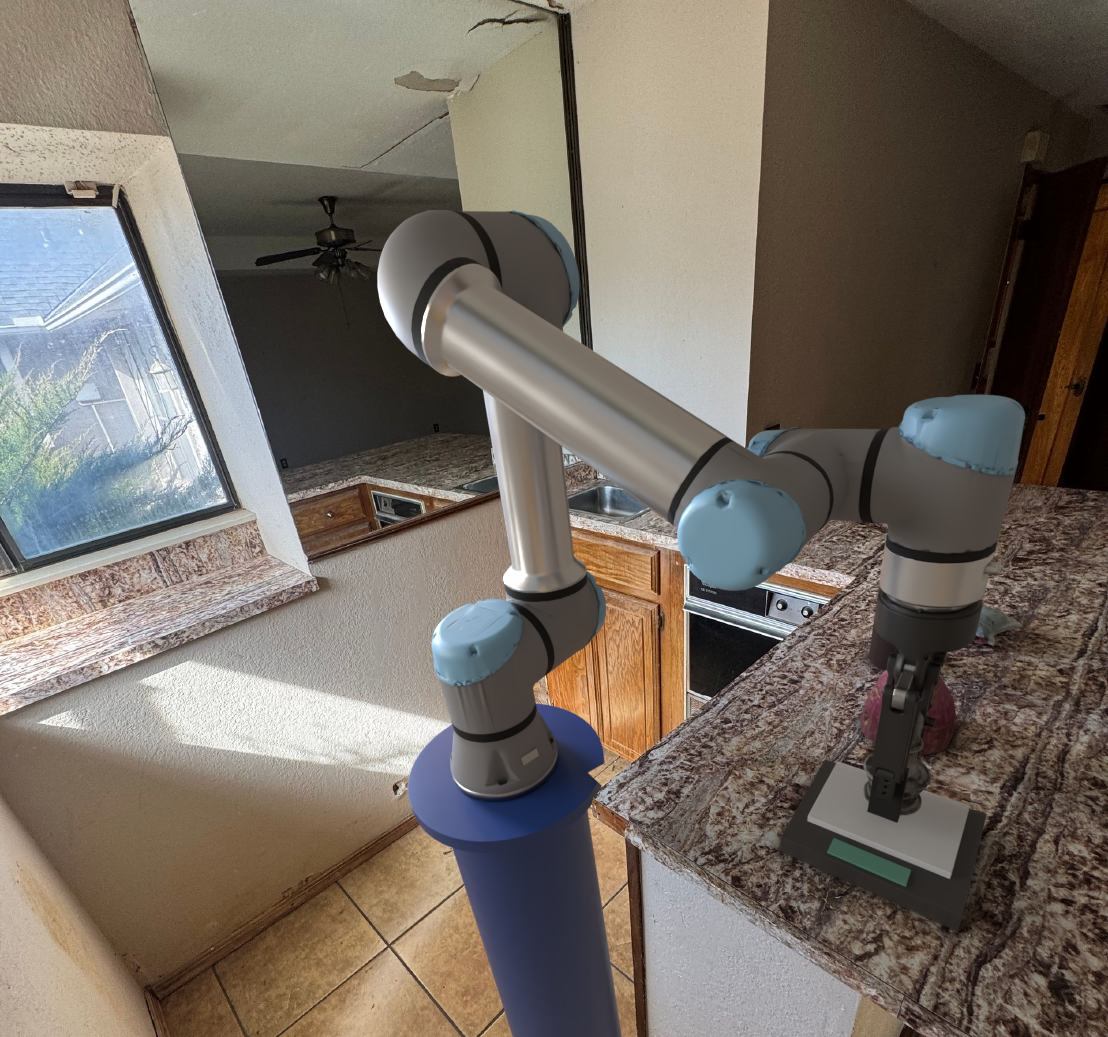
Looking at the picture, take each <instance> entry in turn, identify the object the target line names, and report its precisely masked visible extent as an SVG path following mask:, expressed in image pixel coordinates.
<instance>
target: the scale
mask: <svg viewBox="0 0 1108 1037" xmlns="http://www.w3.org/2000/svg"><path fill="white" fill-rule="evenodd" d="M867 781H869V780H868V778H867V774H866V772H865V770H864V769H861V768H859V767H856V766H853V765H851V764H847V763H844V762H841V761H836V762H834V761H832V760H829V759H824V760H823V762H822V764H821V765H820V768H819V769H818V771H817V773H816V774H815V776H814V778H813V780H812V782H811V783H810V784H809V786H808V788H807V790H806V792H805V794H804V796H803V797H802V798H801V801H800V803H799V804H798V806H797V808H796V810H795V811H794V813H793V815H792V817H791V818H790V820H789V821H788V824H787V825H786V827H785V829H784V830H783V833H782V834H781V836H780V843H779V852H780V853H783V854H785V855H787V856H789V857H792V858H794V859H796V860H799V861H800V862H802V863H804V864H807V865H810V866H812V867H814V868H816V869H817V870H821V871H822V872H825V873H827V874H829V875H831V876H834V877H836V878H838V879H841V880H843V881H845V882H846V883H849V884H852V885H853V886H856V887H858V888H861V889H863V890H865V891H867V892H870V893H872V894H874V895H876V896H878V897H880V898H883V899H885V900H887V901H889V902H891V903H894V904H896V905H898V906H900V907H902V908H904V909H907V910H909V911H910V912H913V913H916V914H918V915H920V916H922V917H924V918H926V919H929V920H930V921H933V922H935V923H937V924H939V925H942V926H944V927H946V928H948V929H951V930H953V931H955V932H959V929H960V926H961V923H962V919H963V917H964V916H963V915H964V912H965V909H966V905H967V899H968V896H969V892H970V887H971V882H972V879H973V874H974V870H975V867H976V861H977V858H978V854H979V849H980V845H981V840H982V837H983V832H984V828H985V824H986V819H987V815H988V814H987V813H986V812H982V811H980V810H976V809H974V808H971V805H969V804H966V803H963V802H960V801H958V800H954V799H953V798H952V799H951V798H949V797H946V796H943V795H940V794H937V793H933V792H931V791H928V790H925V789H924V790H923V791H922V792H921V793H920V794H919V795H920V796H921V800H922V804H921V807H920V809H919V810H918V811H917V812H915V813H913V814H910V815H900V817H899V820H898V823H896V822H893V821H891V820H888V819H885V818H883V817H880V816H877V815H874V814H872V813H869V812H867V810H868V804H869V802H868V801H867V800H866V798H865V796H864V794H863V787H864V784H865V783H866V782H867Z"/></svg>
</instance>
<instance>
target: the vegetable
mask: <svg viewBox="0 0 1108 1037" xmlns="http://www.w3.org/2000/svg"><path fill="white" fill-rule="evenodd" d="M887 678H888V672H887V670H883V672H882V673H881V675H880V676H879V678H877V681H876V683H875V684H874V686H873V687H872V688H871V690H870V692H869V694H868V695H867V698H866V700H865V704H864V707H863V710H862V714H861V717H860V731H861V733H862V734H863V735H864V736H865V737H866V738H868V740H870V741H871V742H874V743H875V741H876V735H877V730H878V724H879V718H880V712H881V705H882V693H881V692H882V688H884V685H886V682H887ZM894 686H895V685H894ZM932 704H933V706H932V709H930V710H929V711H928V714H927V716H928V717H932V718H936V720H935V724H934V727H933V729H932V728H929V727H925V726H923V728H922V729H925V732H924V737H923V743H924V746H923V749H922V750H921V751H920V756H927V755H932V754H937V753H939V752H942V751H944V750H946V748H947V747H948V745H949V744H950V742H951V740H952V737H953V735H954V731H955V727H956V716H957V715H956V714H957V712H956V704H955V701H954V697H953V696H952V693H951V690H950V688H949V687H948V685H947V684H946V682H945V680H944V679H943V677H942V675H940V676H939V679H938V682H937V684H936V685H935V689H934V694H933V699H932Z"/></svg>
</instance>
